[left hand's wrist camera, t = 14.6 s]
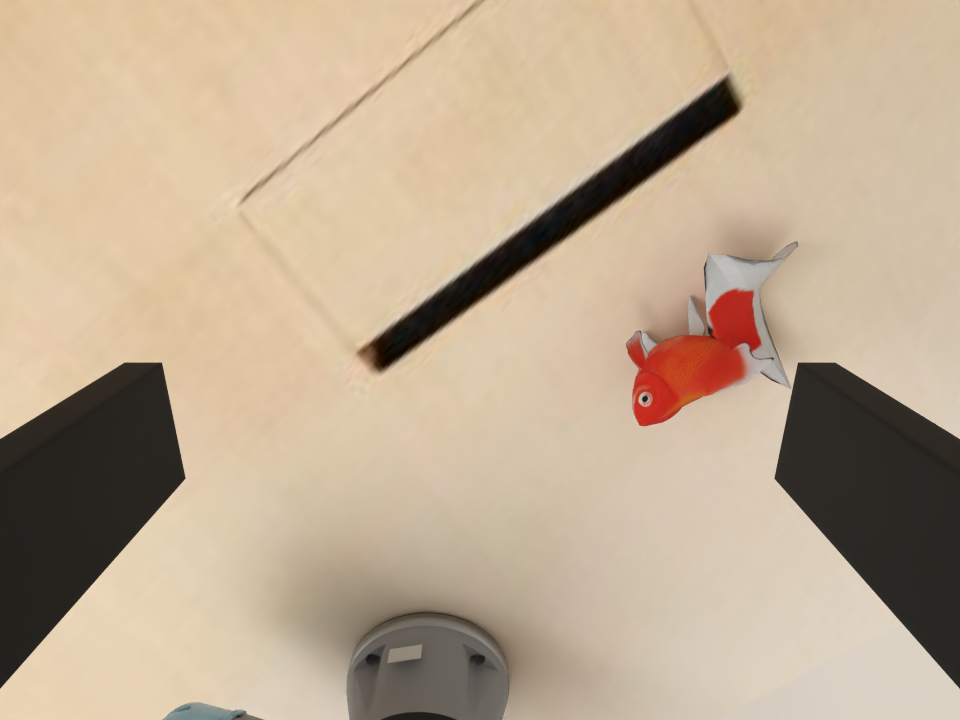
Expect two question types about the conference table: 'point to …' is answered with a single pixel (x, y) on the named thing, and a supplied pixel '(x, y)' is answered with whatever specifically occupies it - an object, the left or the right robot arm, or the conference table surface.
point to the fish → (709, 342)
